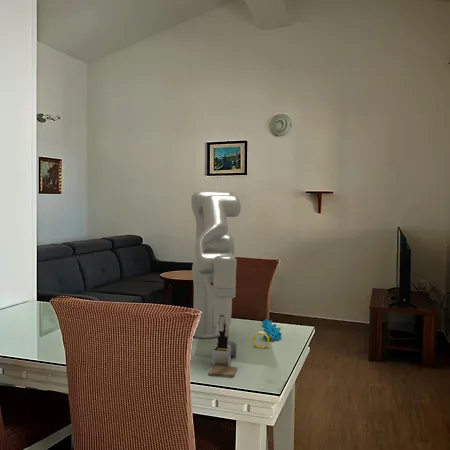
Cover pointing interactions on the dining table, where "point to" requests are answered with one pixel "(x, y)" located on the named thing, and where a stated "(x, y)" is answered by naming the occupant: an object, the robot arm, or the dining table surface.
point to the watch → (261, 334)
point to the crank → (223, 355)
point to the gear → (271, 330)
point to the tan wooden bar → (228, 338)
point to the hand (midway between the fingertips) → (223, 346)
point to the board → (222, 371)
